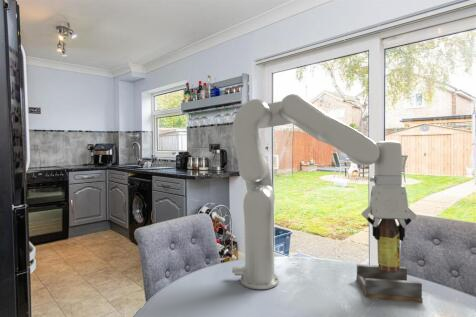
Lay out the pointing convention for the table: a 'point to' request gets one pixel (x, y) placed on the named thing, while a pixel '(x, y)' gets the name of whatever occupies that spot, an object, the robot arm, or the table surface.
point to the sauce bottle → (389, 246)
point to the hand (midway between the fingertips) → (388, 238)
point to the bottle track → (388, 284)
